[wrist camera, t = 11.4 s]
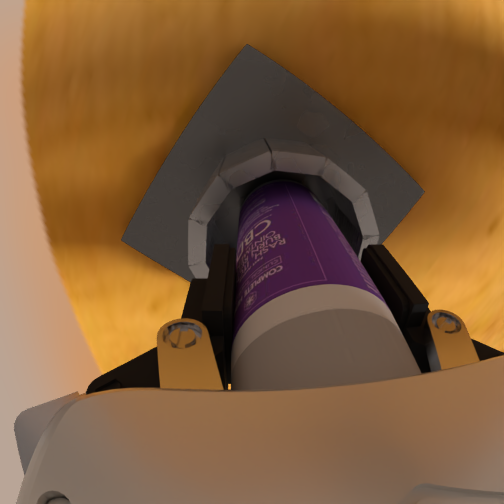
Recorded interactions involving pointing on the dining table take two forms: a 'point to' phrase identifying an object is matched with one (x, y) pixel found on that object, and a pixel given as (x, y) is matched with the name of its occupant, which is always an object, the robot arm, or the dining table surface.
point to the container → (306, 300)
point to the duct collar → (265, 168)
